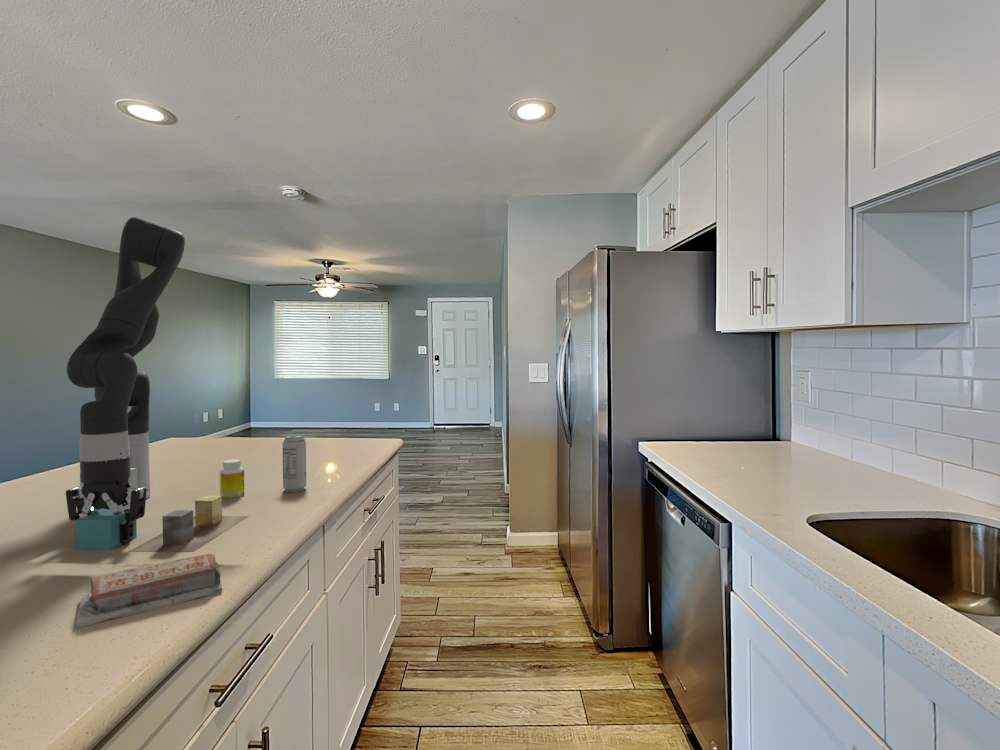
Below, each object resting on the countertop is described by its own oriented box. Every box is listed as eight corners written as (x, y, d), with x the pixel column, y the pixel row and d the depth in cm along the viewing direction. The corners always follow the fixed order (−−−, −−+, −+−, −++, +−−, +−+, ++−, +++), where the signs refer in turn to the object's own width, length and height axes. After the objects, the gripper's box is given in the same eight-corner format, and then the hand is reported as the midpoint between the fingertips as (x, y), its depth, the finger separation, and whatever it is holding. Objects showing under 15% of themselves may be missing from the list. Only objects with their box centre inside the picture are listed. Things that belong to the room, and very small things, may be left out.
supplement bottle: (246, 500, 128) (246, 461, 127) (222, 504, 124) (221, 464, 124) (241, 495, 132) (241, 457, 132) (218, 499, 129) (217, 460, 128)
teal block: (77, 557, 92) (76, 519, 92) (104, 543, 98) (103, 509, 98) (111, 557, 92) (110, 520, 92) (136, 544, 98) (136, 509, 98)
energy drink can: (310, 488, 139) (310, 435, 138) (291, 493, 134) (291, 439, 133) (297, 485, 142) (297, 433, 142) (278, 490, 137) (277, 436, 137)
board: (128, 559, 91) (127, 521, 91) (195, 522, 111) (195, 491, 111) (193, 559, 91) (192, 522, 91) (248, 522, 111) (248, 491, 111)
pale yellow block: (195, 526, 104) (194, 500, 104) (205, 520, 108) (205, 495, 108) (212, 526, 104) (212, 500, 104) (222, 520, 108) (221, 495, 108)
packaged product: (214, 545, 87) (222, 565, 79) (215, 572, 87) (223, 595, 79) (80, 571, 76) (73, 597, 68) (81, 602, 76) (74, 632, 68)
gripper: (50, 459, 91) (53, 549, 91) (128, 460, 91) (130, 549, 91) (84, 451, 98) (87, 534, 99) (156, 451, 98) (158, 534, 99)
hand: (107, 541), depth 95 cm, fingers closed on teal block, 6 cm apart
